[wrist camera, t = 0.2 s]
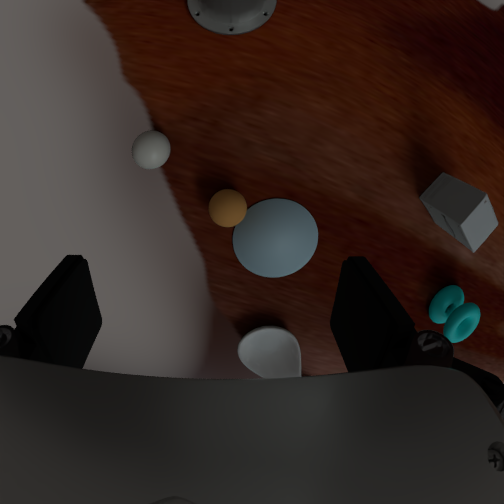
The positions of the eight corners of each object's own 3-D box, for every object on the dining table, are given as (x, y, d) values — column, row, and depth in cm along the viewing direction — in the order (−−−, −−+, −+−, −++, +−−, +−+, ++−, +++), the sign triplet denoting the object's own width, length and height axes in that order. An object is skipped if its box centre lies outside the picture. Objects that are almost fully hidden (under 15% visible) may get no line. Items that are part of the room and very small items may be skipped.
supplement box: (417, 197, 48) (459, 224, 37) (442, 170, 46) (488, 192, 35) (434, 224, 51) (473, 254, 39) (457, 198, 48) (500, 224, 37)
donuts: (484, 324, 52) (451, 352, 54) (462, 300, 60) (432, 325, 63) (479, 299, 48) (443, 329, 50) (454, 274, 57) (421, 301, 59)
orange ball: (209, 185, 45) (206, 195, 40) (246, 184, 45) (248, 194, 41) (210, 219, 48) (208, 233, 43) (245, 218, 48) (247, 232, 43)
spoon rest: (225, 334, 59) (225, 360, 52) (276, 306, 56) (282, 331, 50) (284, 390, 68) (288, 413, 62) (327, 369, 66) (335, 392, 60)
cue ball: (137, 130, 40) (125, 134, 35) (172, 127, 41) (165, 130, 36) (139, 166, 43) (128, 174, 38) (174, 163, 43) (167, 171, 38)
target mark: (232, 198, 46) (232, 198, 46) (321, 199, 47) (322, 199, 47) (233, 277, 53) (233, 278, 52) (313, 275, 54) (313, 276, 53)
